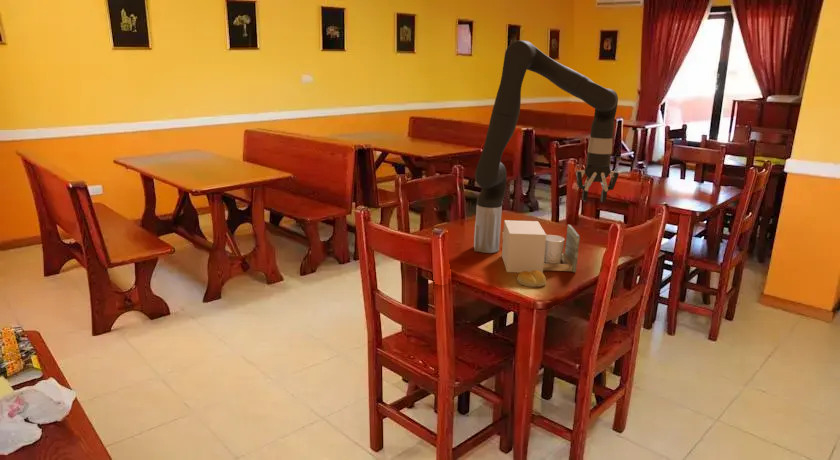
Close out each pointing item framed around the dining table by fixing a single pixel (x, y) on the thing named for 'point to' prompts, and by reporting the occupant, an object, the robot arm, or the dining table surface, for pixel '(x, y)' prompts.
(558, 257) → the white cup
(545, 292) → the dining table surface
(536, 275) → the bread roll
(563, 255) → the carrier
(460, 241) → the dining table surface
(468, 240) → the dining table surface
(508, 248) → the white upright box
